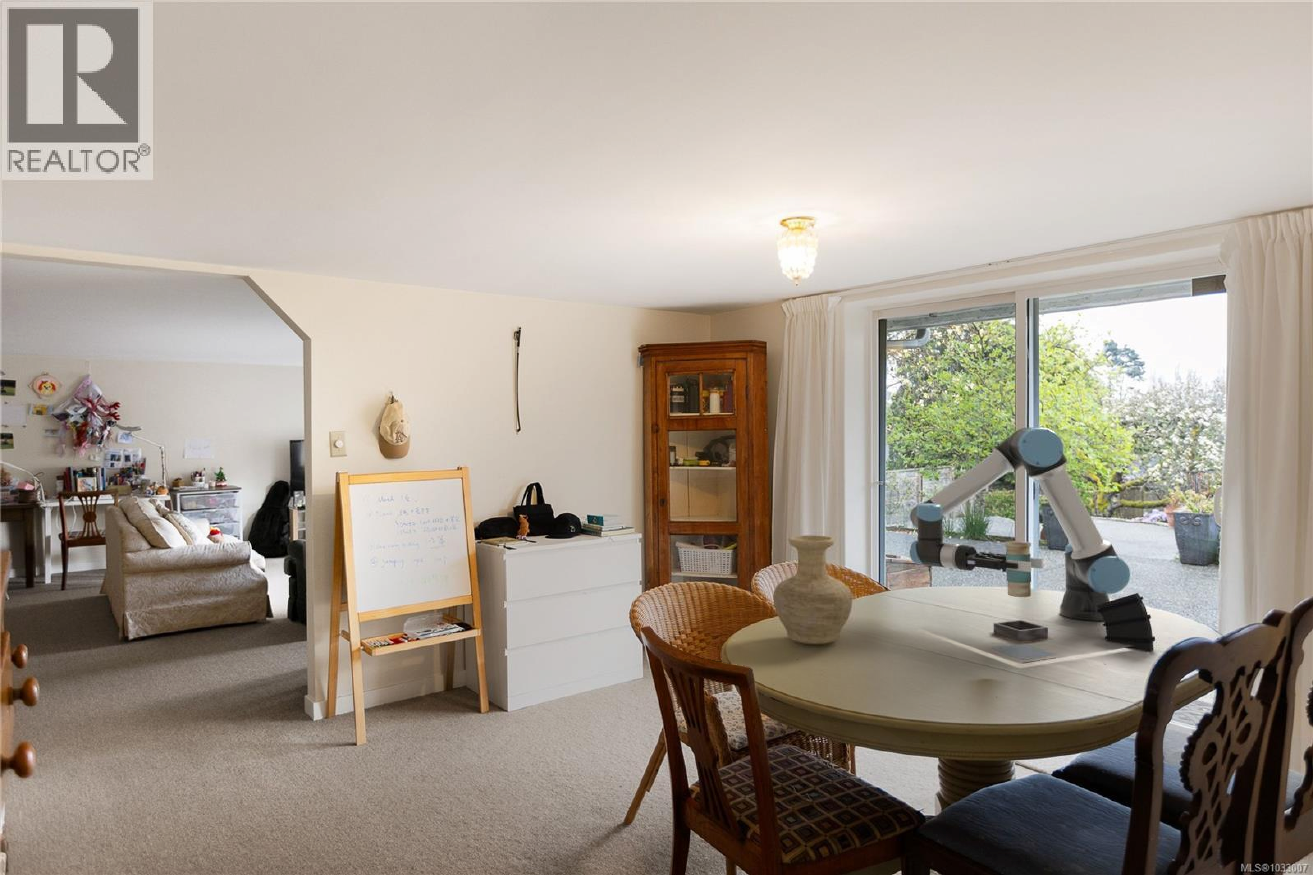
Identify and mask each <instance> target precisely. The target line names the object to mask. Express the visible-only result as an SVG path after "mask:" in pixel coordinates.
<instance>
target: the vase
mask: <svg viewBox="0 0 1313 875" xmlns="http://www.w3.org/2000/svg"><path fill="white" fill-rule="evenodd" d="M788 542H789V544H790V546H792V547H793V548H795V549H796V551H797V570H796V573H795V574H794V575H791V576H790V577H788V578H785V579H784V580H782V581H781V582H779V583H778V584H777V585H776V587H775V589H774V591H773V594H772V595H773V597H772V598H773V599H772V600H773V605H774V610H775V612H776V615H777V617H778V618H779V621H780V622H781V623H782V625H783V627H784V628H785V630H786V635H787V637H788V638H789V639H790V640H792V641H794V642H797V643H801V644H805V645H806V644H807V645H825V644H830V643H834V642H835V641H838V639H839V638H840V634H841V630H842V629H843V628H844V626H845V625H846V622H847V621H848V620H849V617H850V615H851V611H852V607H853V606H852V605H853V595H852V591H851V589H850V588H849V587H848V586H847V585H846V583H844V582H843V581H841V580H840V579H837V578H835V577H833V576H831V575H829V574H828V572H827V567H826V566H827V565H826V558H827V557H826V552H827V550H828V548H831V547H832V546H833V545H834V543H835V539H834V537H831V536H825V535H811V534H810V535H809V534H808V535H795V536H791V537H789V538H788Z"/></svg>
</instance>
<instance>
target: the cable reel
mask: <svg viewBox="0 0 1313 875" xmlns="http://www.w3.org/2000/svg"><path fill="white" fill-rule="evenodd" d="M1004 546H1005V547H1006V552H1005V554H1006V562H1007V560H1016V561H1025V562H1031V558H1032V557H1031V553H1030V552H1031V551H1030V549H1031V548H1030V547H1031V546H1032V543H1031V542H1029V541H1025V540H1024V541H1022V540H1010V541H1005V542H1004ZM1005 573H1006V583H1007V595H1008V596H1010V597H1014V598H1029V597H1031V596H1032V593H1031V592H1032V591H1031V590H1032V589H1031V588H1032V587H1031V585H1032V584H1031V583H1032V571H1031V572H1024V571H1016V570H1007V568H1006V572H1005Z"/></svg>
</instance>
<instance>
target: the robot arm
mask: <svg viewBox="0 0 1313 875" xmlns="http://www.w3.org/2000/svg"><path fill="white" fill-rule="evenodd" d="M1067 464H1068V460H1067V457H1066V455H1065V453H1064V443H1063V441H1062V439H1061V437H1060V436H1059V435H1058V434H1057V433H1056V432H1055V431H1053V430H1051V429H1049V428H1046V427H1043V426H1042V427H1041V426H1033V427H1023V428H1019V429H1017V430H1015V431H1014V432H1013V433H1011V434H1010V435H1009V436H1008V437H1007V438H1005V439H1004V440H1003V441H1002V442H1000V443H999V444H998V445H997V446H995V447H994V448H992V452H991V454H989V456H986V457H985V458H983V459H982V460H981V461H980V462H978V463H977V464H975V466H973V467H971V468H970V469H969V470H967V471H965V472H964V473H963V474H962V475H960V476H959V477H957V478H956V479H955V480H954V481H952V482H951V483H950V484H948V485H946V486H945V487H943V488H942V489H941V490H939V491H938V492H937V493H936V494H934V495H933V496H931V497H930V498H929V499H927V500H926V501H924V502H923V503H920V504H918V505H916V506H914V507H913V508H912V509H911V511H910V512H909V513H910V514H909V519H910V521H911V523H912V525H913V526H914V527H915V528H917V540H914V541H913V542H912V543H911V544H910V549H909V557H910V559H911V561H912V562H913V563H914V564H917V565H922V566H926V567H936V568H945V569H946V568H947V569H949V570H950V571H953V570H960V571H973V570H974V569H975V568H982V569H987V570H988V569H990V570H997V571H1002V573H1006V568H1007V570H1016V571H1024V572H1031V573H1032V569H1033V568H1034V569H1039V570H1042V569H1044V566H1043V565H1044V564H1043V558H1035V557H1031V562H1025V561H1016V560H1007V562H1006V553H996V552H985V551H979V552H977V549H976V548H975V547H974V546H973V545H969V544H968V545H967V544H959V543H947V542H946V543H945V542H944V536H943V535H944V533H943V525H944V524H943V519H944V518H945V517H947V516H948V515H949V514H951V513H952V512H953V511H955V510H957V508H959V507H961V506H962V505H964V504H965V503H966V502H968V501H970V499H972V498H974V496H976V495H977V494H979V493H980V492H982V491H984V489H986V488H987V487H988V486H990V485H991V484H993V483H995V482H996V481H997V480H998V479H1000V478H1001V477H1003V476H1005V475H1006V474H1007V473H1009V472H1010V473H1014V472H1016V471H1017V470H1019V469H1020V468H1022V467H1024V469H1025V472H1026V473H1027V475H1028V477H1029V478H1031V479H1034V480H1036V481H1037V483H1038V485H1039V487H1040V488H1041V491H1042V493H1043V494H1044V496H1045V498H1046V500H1047V502H1048V504H1049V505H1050V507H1051V509H1052V511H1053V514H1054V515H1055V518H1057V520H1058V523H1059V525H1060V527H1061V528H1062V530H1063V532H1064V534H1065V536H1066V538H1067V539H1068V542H1069V544H1068V543H1067V545H1066V546H1065V547H1064V549H1065V550H1064V551H1065V552H1064V558H1065V559H1064V563H1065V564H1064V565H1065V566H1064V567H1065V568H1064V569H1065V573H1064V574H1065V592H1064V594H1063V598H1062V599H1061V600H1062V601H1061V604H1060V606H1059V614H1060V615H1062V616H1063V617H1066V618H1070V619H1074V620H1081V621H1092V622H1093V621H1094V622H1097V621H1098V622H1102V621H1103V622H1104V620H1103V617H1102V615H1101V613H1098V612H1097V610H1098V607H1097V605H1099V604H1102V603H1106V602H1109V601H1111V600H1110V597H1109V595H1113V594H1117V593H1119V592H1121V591H1123V590H1124V589H1125V588H1126V587H1127V586H1128V583H1129V581H1130V579H1131V570H1130V568H1129V566H1128V564H1127V563H1126V562H1125V561H1124V560H1123V559H1122V558H1121V557H1119V556H1118V554H1117V552H1116V550H1115V547H1114V546H1113V545H1112V542H1111V541H1108V540H1106V539H1104V538H1102V536H1101V533H1100V531H1099V530H1098V527H1097V526H1096V524H1095V522H1094V520H1093V518H1092V516H1091V515H1090V513H1089V511H1088V508H1086V505H1085V503H1084V501H1083V500H1082V498H1081V496H1080V494H1079V492H1078V490H1077V488H1076V486H1075V484H1074V482H1073V481H1072V479H1071V477H1070V475H1069V473H1068V471H1067V469H1066V467H1067Z"/></svg>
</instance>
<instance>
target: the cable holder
mask: <svg viewBox="0 0 1313 875" xmlns="http://www.w3.org/2000/svg"><path fill="white" fill-rule="evenodd" d="M988 634H990V635H993V636H996V637H998V638H1002V639H1004V640H1005V639H1006V640H1009V641H1012V642H1014V643H1018V644H1026V643H1032V642H1040V641H1041V642H1042V641H1048V640H1053V639H1054V638H1053V637H1051V636H1049V627H1047V626H1045V625H1040V624H1038V623H1037V624H1036V623H1034V622H1030V621H1027V620H1022V619H1015V620H1007V621H1001V622H999V621H998V622H993V632H988Z"/></svg>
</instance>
